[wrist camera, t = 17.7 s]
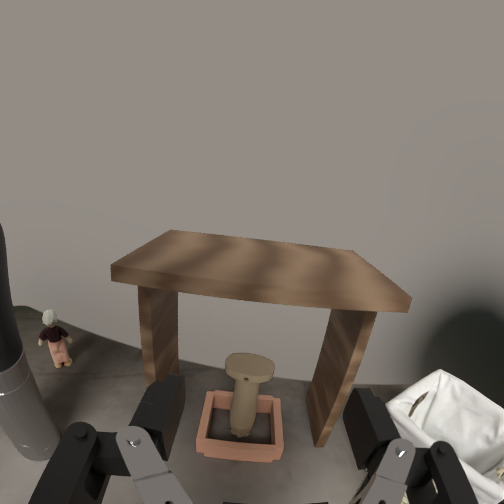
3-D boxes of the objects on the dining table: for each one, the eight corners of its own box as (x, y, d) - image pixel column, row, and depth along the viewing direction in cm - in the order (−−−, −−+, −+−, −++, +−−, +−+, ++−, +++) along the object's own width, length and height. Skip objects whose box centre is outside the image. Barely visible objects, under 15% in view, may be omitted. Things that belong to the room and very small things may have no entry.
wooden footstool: (143, 457, 29) (110, 264, 22) (171, 385, 46) (170, 229, 39) (329, 474, 29) (412, 297, 22) (313, 400, 47) (353, 250, 39)
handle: (224, 418, 40) (230, 349, 37) (262, 425, 40) (276, 357, 36) (217, 438, 36) (221, 369, 32) (257, 446, 35) (272, 379, 31)
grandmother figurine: (73, 354, 47) (63, 302, 44) (79, 364, 45) (67, 311, 42) (44, 362, 42) (29, 309, 39) (47, 373, 39) (32, 318, 36)
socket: (195, 454, 32) (195, 442, 31) (207, 402, 44) (207, 388, 43) (279, 462, 32) (284, 451, 31) (276, 409, 44) (279, 396, 43)
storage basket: (485, 488, 17) (539, 428, 13) (433, 550, 10) (507, 500, 7) (406, 424, 38) (440, 364, 34) (344, 462, 31) (381, 399, 28)
